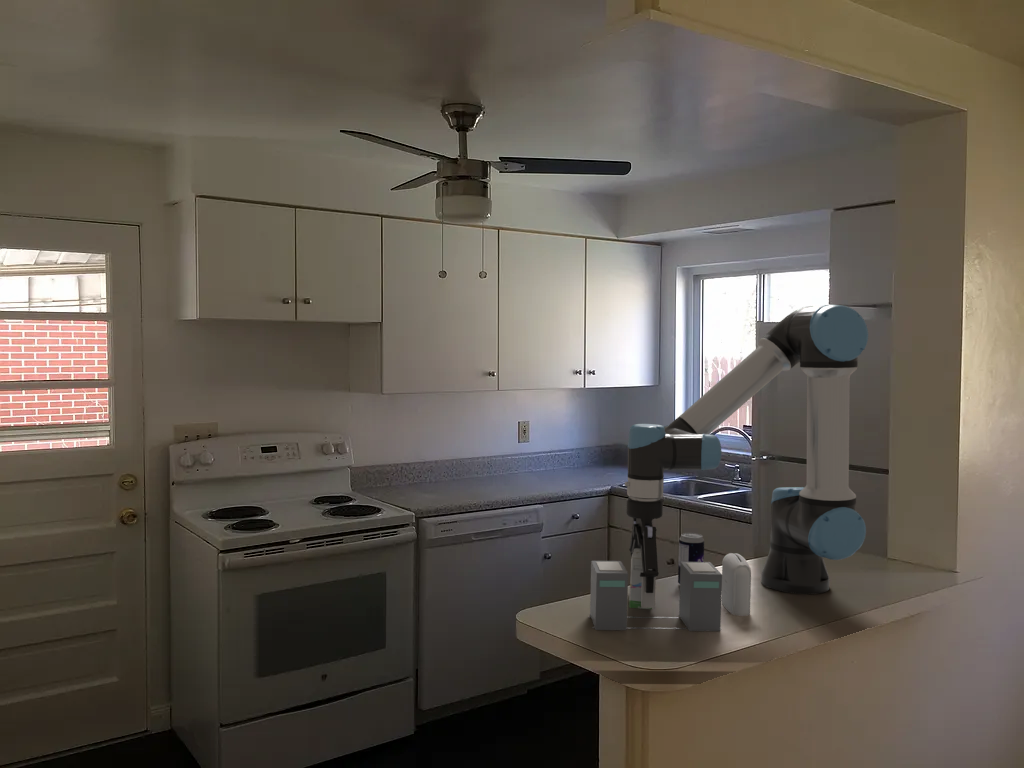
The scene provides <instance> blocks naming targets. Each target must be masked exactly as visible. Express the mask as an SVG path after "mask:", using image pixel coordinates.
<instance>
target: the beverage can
mask: <svg viewBox="0 0 1024 768" xmlns="http://www.w3.org/2000/svg"><path fill="white" fill-rule="evenodd" d="M703 537H704V536H703V535H702V534H700V533H695V532H684V533H681V535H680V537H679V540H678V567H677V568H678V570H677V572H678V573H677V574H678V575H677V583H678V584H679V585H680V563H681V562H705V540H704V538H703Z"/></svg>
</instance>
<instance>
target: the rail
mask: <svg viewBox="0 0 1024 768" xmlns="http://www.w3.org/2000/svg"><path fill="white" fill-rule="evenodd" d="M588 618H591V616H589V615H588ZM627 619H681V618H680V616H627ZM591 629H595V627H594V626H592V627H591ZM628 629H629V630H635V629H636V630H688V628H687V627H641V626H640V627H633V626H630V627H629V626H628V627H627V630H628ZM721 630H722V628H721V627H720V631H721Z"/></svg>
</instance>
